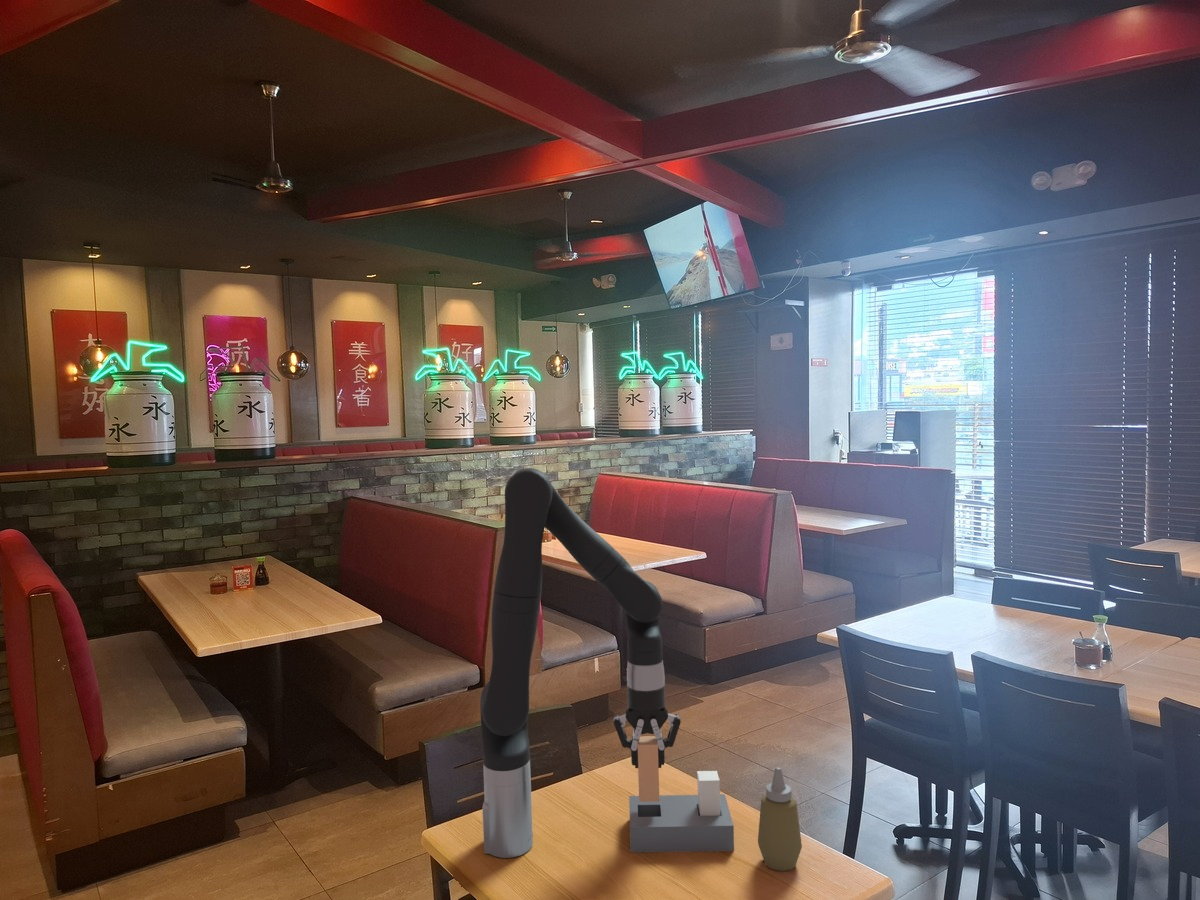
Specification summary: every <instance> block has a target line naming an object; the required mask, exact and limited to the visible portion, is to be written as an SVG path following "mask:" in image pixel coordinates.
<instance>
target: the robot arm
mask: <svg viewBox="0 0 1200 900" xmlns="http://www.w3.org/2000/svg"><path fill="white" fill-rule="evenodd" d="M545 529H547V531H549V532H550V533H551V534H552V536H554V537H555V538H556V539H557V540H558V541H559V542H560V543H561V545H562V546H563V547H564V549H566V551H568V553H569V554H570V555H571V557H572V558H574V561H576V562H577V563H578V564H579V565H580V566H581V567H582V568H583V570H585V572H586V573H588V574H589V576H591V578H593V579H594V580H595V581H596V582H597V583H598V584H599V585H600V586H602V587H603V588H604V589H605V590H606V591H608V593H610V595H611V596H612V598H614V599H615V601H616V602H617V603H618V604H619V606H621V608H622V609H623V610H624V611H625V619H626V627H627V644H626V646H627V649H626V653H627V667H626V686H627V687H626V688H627V689H626V691H627V692H626V693H627V709H626V711H625V713H624V714H621V715H618V714H616V715H614V716H613V725H614V729H615V731H616V733H617V736H618V738H619V741H620V744H621V746H622V748H624V749H626V748H627V749H629V750H630V753H631V754H630V755H631V756H630V758H631V760H630V761H631V765H632V766H634V767H635V769H638V743H639V740H640V736H642V735H645V734H650V735H654V736H655V738H656V741H657V743H658V768H659V769H661V768H662V766H664V765H665V762H666V761H665V749H666V748H672V747H673V746H674V744H675V741H676V738H677V735H678V732H679V729H680V725H681V723H682V721H681V716H680V714H678V713H676V714H672V713H670V712H668V710H667V708H666V684H665V683H666V676H665V666H664V660H663V657H664V656H663V638H662V635H661V631H660V615H661V614H662V611H663V606H664V602H663V598H662V596H661V594H660V592H659V590H658V588H657V587H656V586H655V585H654V584H653V583H652V582H650V581H648V580H645V579H644V578H643V577H642V576H640V575H639V574H638V573H637V572H636V571H635V570H634V569H633V568H632V566H631V565H630V563H629V562H628V561H627V560H626V558H624V557H623V556H622V555H621V554H620V553H619V551H618V550H616V549H615V548H614V547H613V546H612V545H611V544H610V543H609V542H608V541H607V540H605V538H604V537H602V535H600V534H599V533H597V532H596V531H595V530H594V529H593V528H592V527H591V526H590V525H588V524H587V523H586V522H585V521H584V520H583V519H582V518H581V517H580V516H579V515H578V514H576V512H575V511H574V510H573V509H572V508H571V507H570V506H569V505H568V503H567V502H565V499H563V497H562V496H561V495H560V494H559V492H558V491H557V489H555V487H554V486H553V484H552V481H551V480H550V478H549V477H548V476H547V474H546V473H544V472H543V471H541V470H539V469H536V468H531V467H530V468H529V467H528V468H523V469H519V470H518V471H516V472H515V473H514V474H512V475H511V476H510V477H509V479H508V480H507V482H506V485H505V489H504V537H503V538H504V539H503V544H502V550H501V553H500V556H499V561H498V565H497V570H496V576H495V582H494V589H493V599H492V605H491V606H492V607H491V647H492V651H491V652H492V660H491V661H492V662H491V669H490V676H489V681H488V682H487V683H486V684H485V685H484V687H483V689H482V691H481V693H480V696H479V697H480V698H479V701H480V703H479V704H480V706H479V707H480V710H479V711H480V728H481V729H480V731H481V732H480V733H481V749H482V764H483V793H484V800H483V803H482V828H483V829H482V830H483V853H484V854H486V855H488V854H489V855H491V856H494V857H497V858H502V859H509V858H510V859H511V858H516V857H520V856H521V855H524V854H526V853H527V852H528V851H530V849H532V847H533V845H534V839H533V838H534V837H533V836H534V832H533V807H532V783H531V782H532V781H531V779H532V778H531V756H530V755H531V751H530V750H531V749H530V741H529V740H530V739H529V729H528V717H529V714H530V673H531V672H530V669H531V660H532V655H533V650H534V646H535V641H536V633H537V630H538V629H537V627H538V621H539V615H540V608H541V600H542V593H543V591H542V589H543V588H542V587H543V553H542V552H543V551H542V549H543V539H544V534H545V533H544V532H545ZM667 720H668V725H669V726H670V727H669V730H668V733H667V737H666V738H664V737H663V734H662V727H663V726H664V724H665V723H666V721H667ZM626 721H627V722H628V723H629V724H630V726H631V728H632V729H633V731H632V736H631V739H630V738H628V736H627V733H626V731H625V726H626Z"/></svg>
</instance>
